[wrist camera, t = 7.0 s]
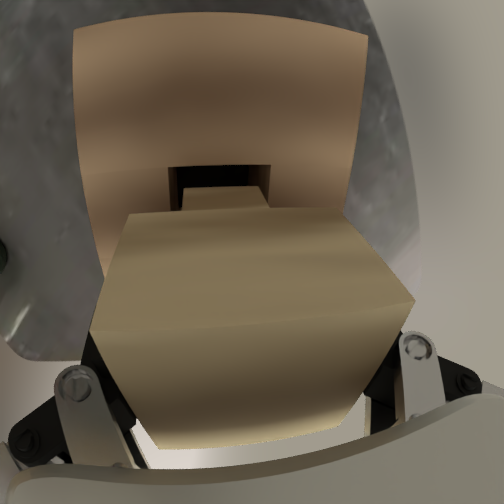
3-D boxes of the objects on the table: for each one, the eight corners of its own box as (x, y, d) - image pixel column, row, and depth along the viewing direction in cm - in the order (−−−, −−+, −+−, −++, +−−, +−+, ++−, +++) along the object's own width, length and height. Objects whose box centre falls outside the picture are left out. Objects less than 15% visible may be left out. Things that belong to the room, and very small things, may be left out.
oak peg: (153, 162, 13) (89, 331, 4) (288, 159, 14) (415, 300, 5) (164, 273, 16) (158, 449, 8) (276, 267, 17) (337, 426, 9)
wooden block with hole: (108, 40, 13) (73, 29, 8) (322, 42, 15) (368, 35, 11) (135, 289, 24) (127, 342, 19) (291, 279, 27) (312, 328, 22)
